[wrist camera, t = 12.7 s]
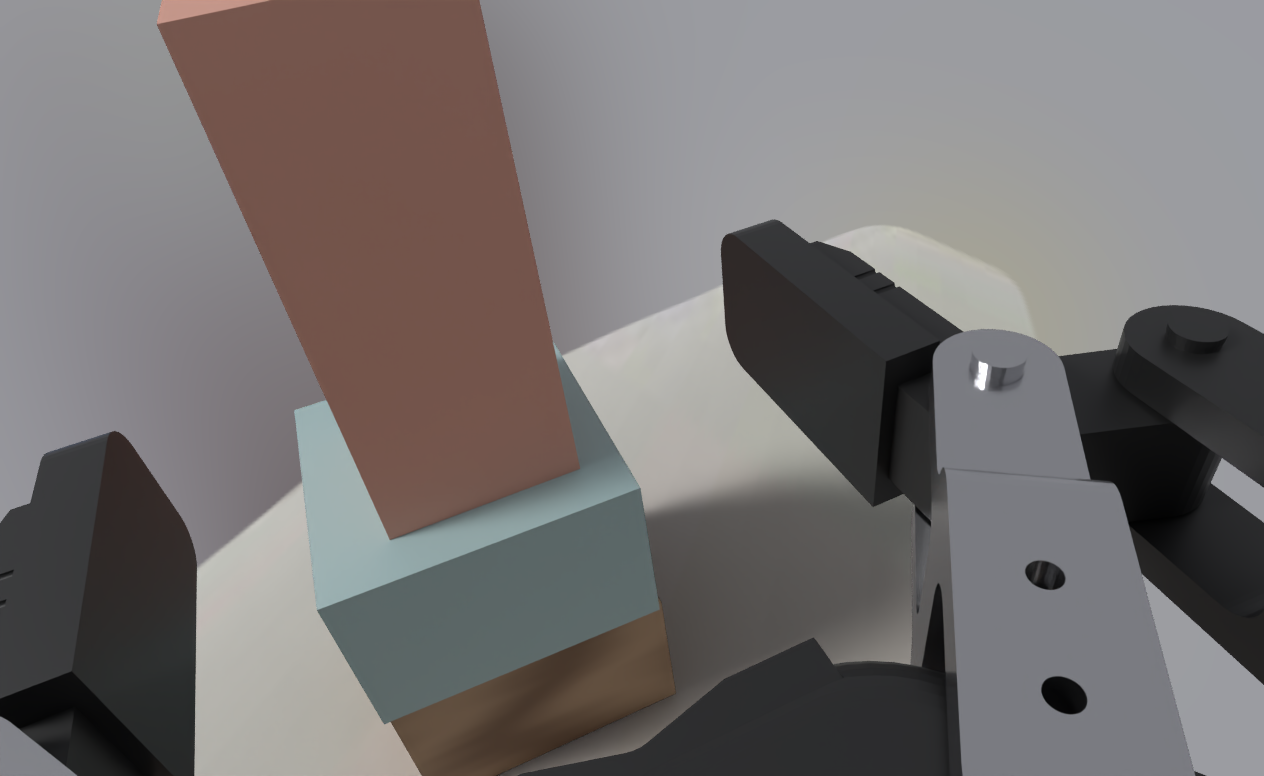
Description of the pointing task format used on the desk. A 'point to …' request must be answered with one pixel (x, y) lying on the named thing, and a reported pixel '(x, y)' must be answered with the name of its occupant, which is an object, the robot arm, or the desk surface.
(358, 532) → the tower top block
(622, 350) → the desk surface
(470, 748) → the tower base block
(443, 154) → the brick-red block
